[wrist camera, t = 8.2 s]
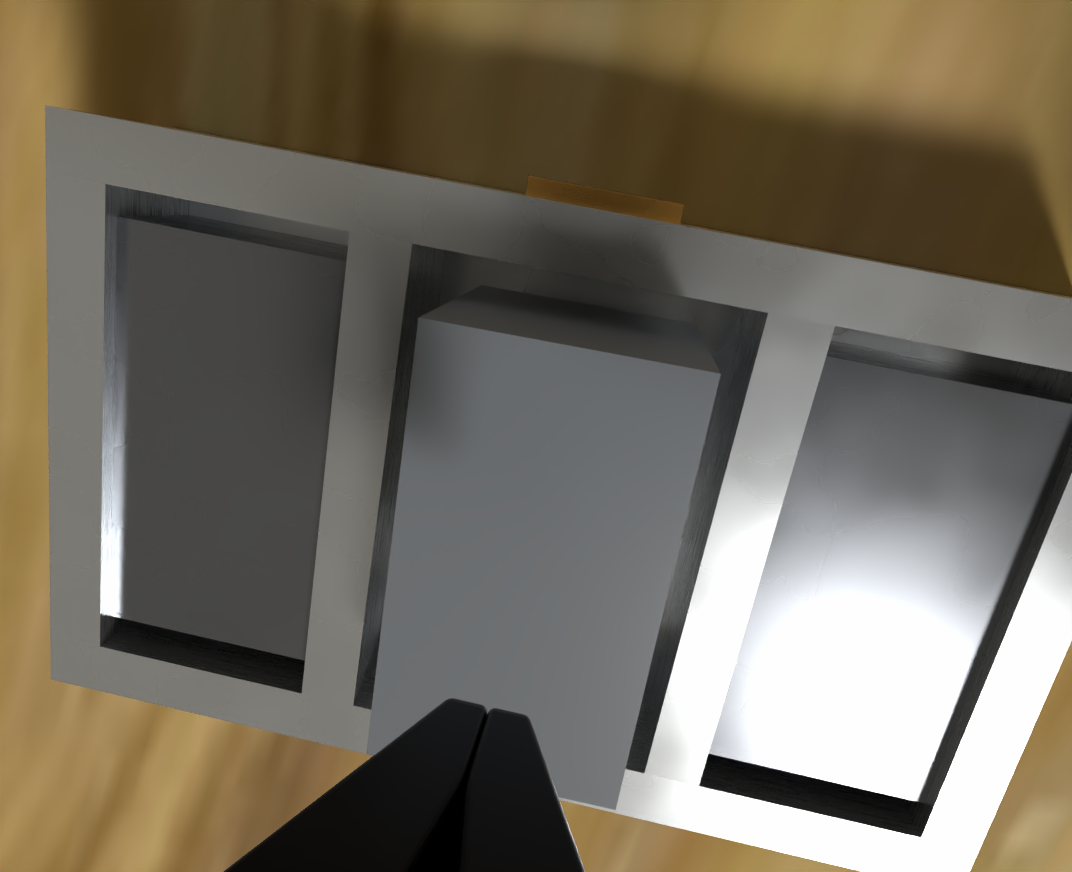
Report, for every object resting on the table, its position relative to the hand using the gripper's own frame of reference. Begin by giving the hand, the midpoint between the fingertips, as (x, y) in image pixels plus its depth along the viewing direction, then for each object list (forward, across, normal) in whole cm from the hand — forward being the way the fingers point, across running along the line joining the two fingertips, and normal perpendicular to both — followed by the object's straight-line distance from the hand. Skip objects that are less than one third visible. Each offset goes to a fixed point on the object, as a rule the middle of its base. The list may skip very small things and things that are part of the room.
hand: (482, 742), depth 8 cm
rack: (+9, 0, 0) cm, 9 cm away
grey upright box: (+8, 0, 0) cm, 8 cm away
